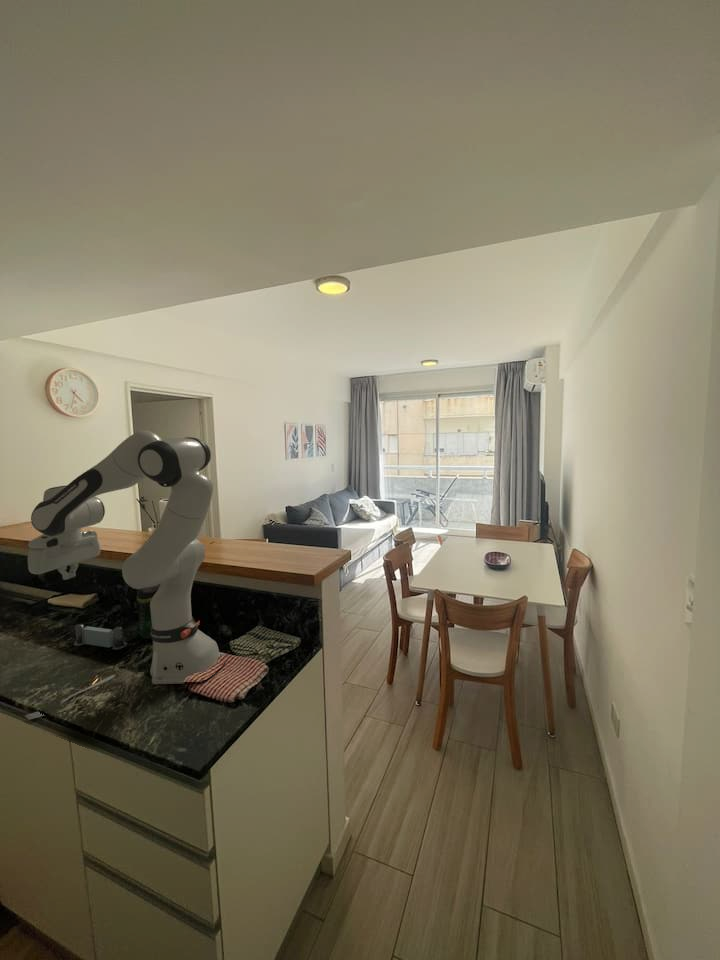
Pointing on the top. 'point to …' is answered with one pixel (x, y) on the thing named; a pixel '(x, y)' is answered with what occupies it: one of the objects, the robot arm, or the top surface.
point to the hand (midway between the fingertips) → (69, 578)
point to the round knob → (79, 635)
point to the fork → (70, 697)
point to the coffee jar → (146, 609)
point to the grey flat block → (97, 636)
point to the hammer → (118, 639)
